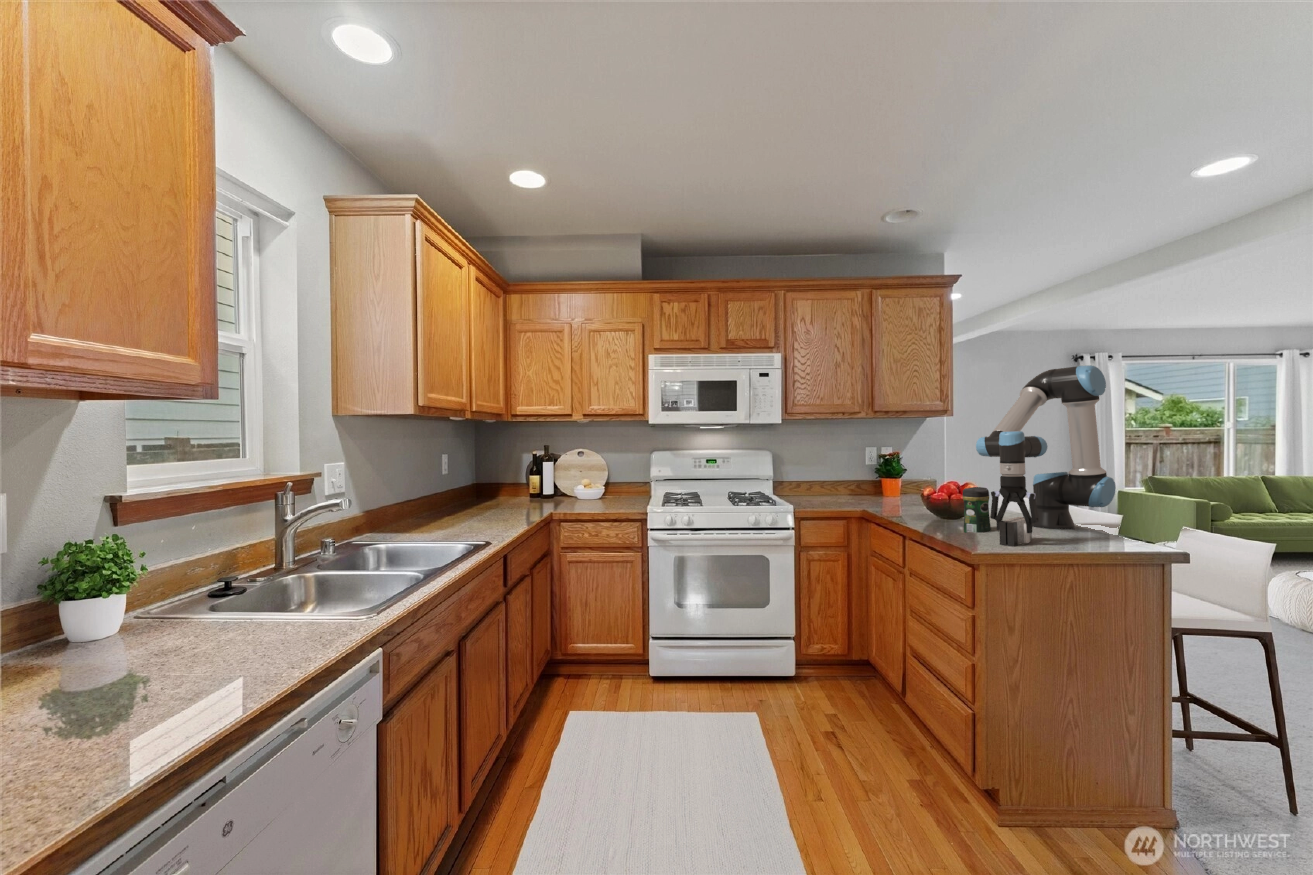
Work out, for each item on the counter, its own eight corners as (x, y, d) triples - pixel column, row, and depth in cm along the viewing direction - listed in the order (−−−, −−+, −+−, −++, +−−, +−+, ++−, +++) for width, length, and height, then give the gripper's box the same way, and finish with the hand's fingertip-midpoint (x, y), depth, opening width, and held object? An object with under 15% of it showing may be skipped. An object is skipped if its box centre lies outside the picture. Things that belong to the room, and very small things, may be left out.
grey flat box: (1025, 540, 203) (1024, 515, 203) (1035, 541, 200) (1034, 516, 200) (1004, 546, 192) (1003, 520, 192) (1014, 547, 190) (1013, 521, 190)
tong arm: (1018, 538, 203) (1017, 516, 203) (1024, 539, 202) (1023, 517, 202) (999, 544, 193) (999, 521, 193) (1006, 545, 192) (1005, 522, 192)
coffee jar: (975, 531, 228) (974, 485, 228) (994, 534, 220) (993, 487, 221) (959, 533, 224) (958, 487, 224) (978, 536, 216) (976, 488, 216)
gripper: (977, 475, 201) (979, 538, 201) (1041, 477, 185) (1043, 546, 185) (986, 473, 206) (988, 536, 206) (1049, 475, 190) (1051, 543, 190)
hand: (1014, 540), depth 195 cm, fingers open, 7 cm apart
